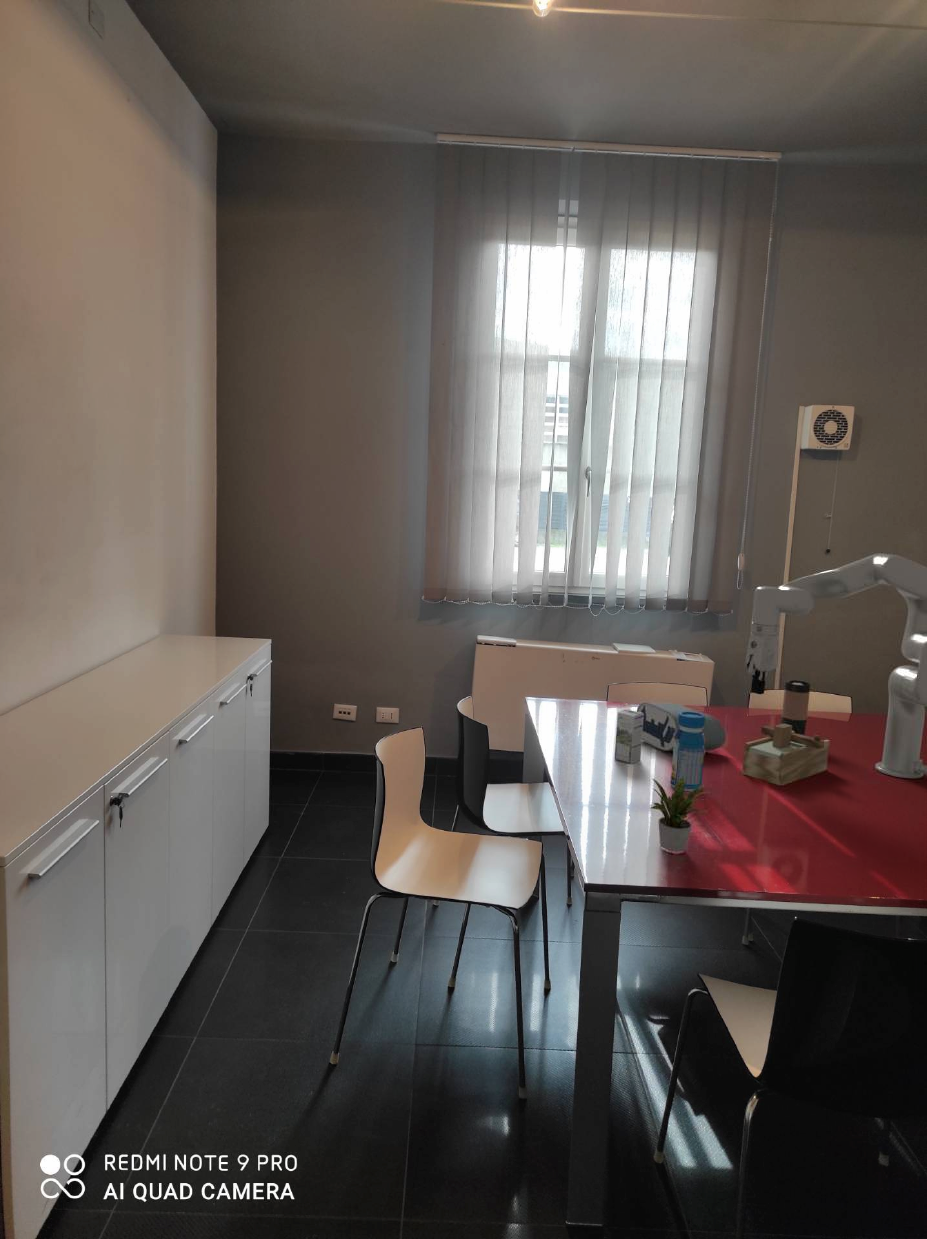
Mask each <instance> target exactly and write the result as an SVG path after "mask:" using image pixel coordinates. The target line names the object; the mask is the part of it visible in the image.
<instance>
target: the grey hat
mask: <svg viewBox="0 0 927 1239" xmlns="http://www.w3.org/2000/svg"><path fill="white" fill-rule="evenodd" d="M636 712H641V713H644V719H643V731H642V741H643V742H644V743H647V745H650V746H652V747H654V748H656V749H658V750H661V751H664V752H670V751H671V752H673V744H674V743H675V740H674V736H675V734H676V732H677V730H678V729H679V728H680V726H679V724H678V719H679V713H681V712H696V713H700V714H703V715H704V716H705V724H704V728H703V729H701V730H702V731H703V733H704V735H705V739H706V743H705V744H704V747H705V752H706V751H707V752H708V751H714V750H717V749H719V748H721V747H722V746H723V745H724V744H725V742H726V739H727V735H726V730H725V728H724V726H723V725H722V723H721V722H720V721H719V720H718V719H716V718H715V717H714V716H711V715H710V714H707V713H704V712H701V711H699V710H695V709H692V708H689V707H688V706H684V705H682V704H681V703H674V702H673V703H671V702H642V703H640V704H639V705H638V707H637V709H636Z"/></svg>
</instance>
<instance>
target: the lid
mask: <svg viewBox="0 0 927 1239" xmlns="http://www.w3.org/2000/svg"><path fill="white" fill-rule="evenodd" d="M773 728H774V736H773V741H769V742H765V743H762V744H758V745H755V746H751V747H749V751H750V752H754V753H757V754H761V755H764V756H768V757H771V758H775V759H778V760H780V758H781V753H783V752H786V751H790V750H793V749H796V748H800V747H803V746H806V745H803V744H799V743H795V742H791V733H792V725H788V724H781V723H780V724H777V725H774V727H773Z"/></svg>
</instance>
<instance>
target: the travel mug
mask: <svg viewBox="0 0 927 1239" xmlns="http://www.w3.org/2000/svg"><path fill="white" fill-rule="evenodd" d="M810 690H811V683H809V682H806V681H802V680H794V679H793V680H790V681H785V684H784V693H783V701H782V709H781V710H782V711H781V719H780V724H788V725H792V731H794V733H797V734H800V735H804V736H806V735H805V734H806V727H807V720H808V712H809V700H810Z"/></svg>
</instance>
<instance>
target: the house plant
mask: <svg viewBox="0 0 927 1239" xmlns="http://www.w3.org/2000/svg"><path fill="white" fill-rule="evenodd" d="M673 780H674V778H673ZM652 781H653V782H654V783H655V785H656V787H657V788H658V790H659V791H658V790H657V789H655V788H653V791H655V792H656V793H657V795H658V796H659V797H660V803H658V802H653V806H652V807H650V808H649V809H650V810H651V809H653V810H659V811H661V813H662V815H663V817H660V818H659V819H658V831H659V844H660V845H661V846H660V845H659V846H660V848H661V847H663V848H665V849H667V850H671V851H682V850H685V851H686V848H687V845H688V842H689V838H690V833H691V829H692V826H693V824H692V823H691V821H689V819H691V818H693V817H694V816H695V815H697V814H700V813H701V814H703V815H705V813H709V811H707V810H700V809H695V808H694V809H693V807H695V805H693V804H694V803H696V802H697V801H698V802H699V801H705V799H703V798H698V799H695V798H696V797H698V796H699V795H702V794H713V792H711V791H703V790H704V789H703V787H706V786H707V785H708V784H702V786H699V787H697V788H696V789H694V790H693V791H684V790H685V782H684V778H683V777H682V778H681V779H680V780H679V781H678V784H677V785H676V782H675V780H674V785H675V788H674V792H673V793H672V794H671V796H670V795H669V796H668V795H667V793H666V790H665V789H664V787H663V786H662V785H661V784H660V782H658V780H656V779H654V778H652ZM701 791H702V792H701ZM687 794H688V795H687ZM685 795H687V796H685ZM691 808H692V809H691ZM692 812H693V813H694V812H696V813H694V814H692V815H691V816H690V817H688V814H690V813H692ZM704 812H705V813H704ZM687 817H688V818H687Z"/></svg>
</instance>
